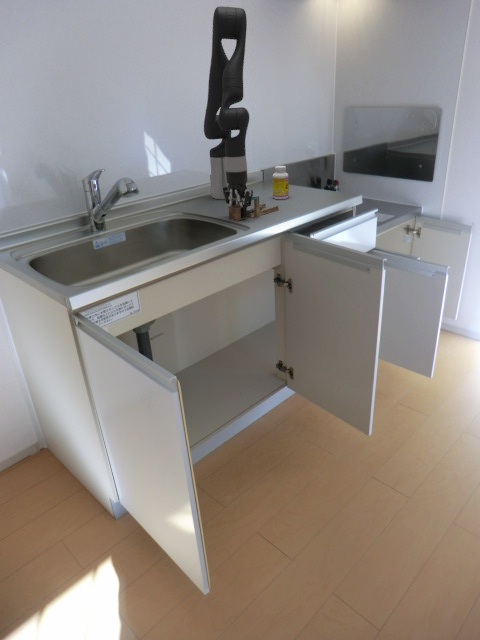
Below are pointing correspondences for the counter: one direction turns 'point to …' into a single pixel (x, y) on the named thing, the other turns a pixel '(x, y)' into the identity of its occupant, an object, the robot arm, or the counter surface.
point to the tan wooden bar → (252, 210)
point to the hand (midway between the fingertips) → (238, 216)
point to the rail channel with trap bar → (256, 207)
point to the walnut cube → (235, 212)
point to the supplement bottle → (280, 183)
